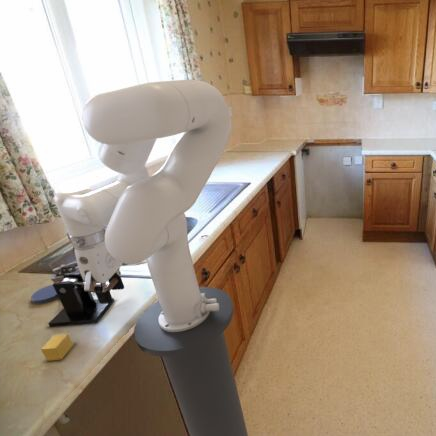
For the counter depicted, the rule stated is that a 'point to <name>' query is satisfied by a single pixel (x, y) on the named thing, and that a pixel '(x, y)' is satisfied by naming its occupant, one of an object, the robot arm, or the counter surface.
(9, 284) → the counter surface
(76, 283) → the lever
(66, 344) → the butter
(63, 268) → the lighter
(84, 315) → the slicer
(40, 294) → the dish
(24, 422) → the counter surface
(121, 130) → the robot arm
